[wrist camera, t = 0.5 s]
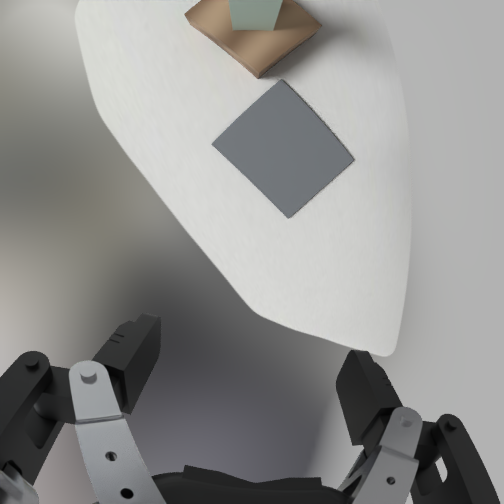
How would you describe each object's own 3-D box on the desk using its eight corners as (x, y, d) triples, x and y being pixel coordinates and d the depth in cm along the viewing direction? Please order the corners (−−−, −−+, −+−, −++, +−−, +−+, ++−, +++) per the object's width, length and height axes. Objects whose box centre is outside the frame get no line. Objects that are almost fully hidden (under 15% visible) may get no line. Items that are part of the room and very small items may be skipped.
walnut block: (190, 24, 24) (184, 14, 21) (247, -18, 21) (247, -32, 18) (257, 78, 28) (259, 73, 25) (314, 34, 25) (321, 25, 22)
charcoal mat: (211, 144, 32) (211, 144, 32) (280, 79, 28) (281, 79, 28) (287, 217, 37) (288, 218, 36) (352, 159, 33) (353, 160, 33)
